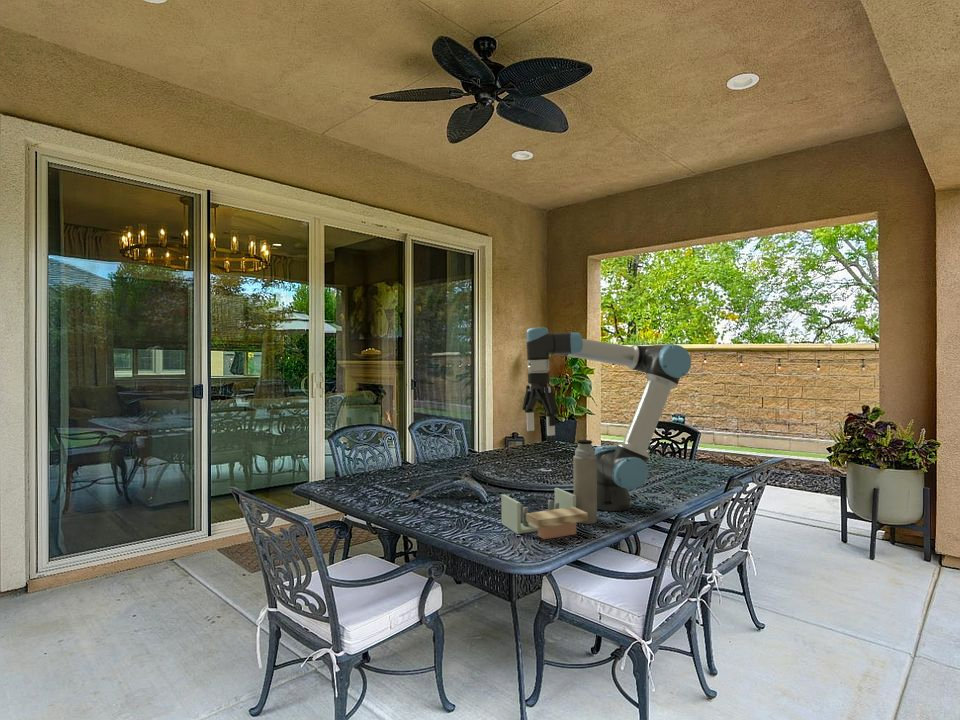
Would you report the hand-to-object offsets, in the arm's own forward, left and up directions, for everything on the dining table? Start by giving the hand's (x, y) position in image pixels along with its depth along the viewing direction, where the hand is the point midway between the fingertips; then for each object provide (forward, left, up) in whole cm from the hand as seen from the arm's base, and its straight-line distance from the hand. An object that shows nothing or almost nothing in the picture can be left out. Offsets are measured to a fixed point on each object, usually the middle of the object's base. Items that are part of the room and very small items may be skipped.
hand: (540, 433), depth 189 cm
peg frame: (+3, +3, -31) cm, 31 cm away
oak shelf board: (+3, +15, -26) cm, 30 cm away
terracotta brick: (+3, +15, -31) cm, 34 cm away
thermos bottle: (-14, +6, -31) cm, 35 cm away
